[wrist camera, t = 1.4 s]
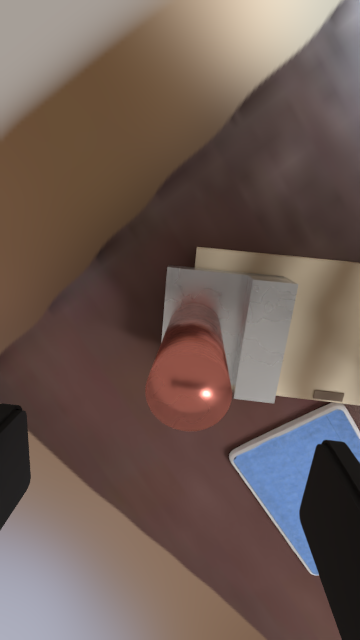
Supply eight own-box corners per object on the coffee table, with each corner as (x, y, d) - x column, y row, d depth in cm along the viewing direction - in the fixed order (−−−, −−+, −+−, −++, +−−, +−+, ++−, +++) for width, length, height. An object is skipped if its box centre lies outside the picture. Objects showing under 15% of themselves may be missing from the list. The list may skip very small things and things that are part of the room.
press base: (478, 274, 24) (582, 289, 18) (430, 403, 28) (502, 457, 21) (197, 246, 26) (195, 251, 19) (183, 374, 29) (178, 417, 22)
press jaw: (284, 276, 23) (356, 315, 12) (264, 380, 26) (310, 490, 15) (169, 264, 24) (139, 292, 13) (161, 368, 26) (130, 466, 15)
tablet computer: (416, 531, 33) (425, 543, 31) (309, 569, 35) (313, 581, 34) (337, 394, 29) (343, 402, 28) (224, 449, 32) (225, 458, 30)
